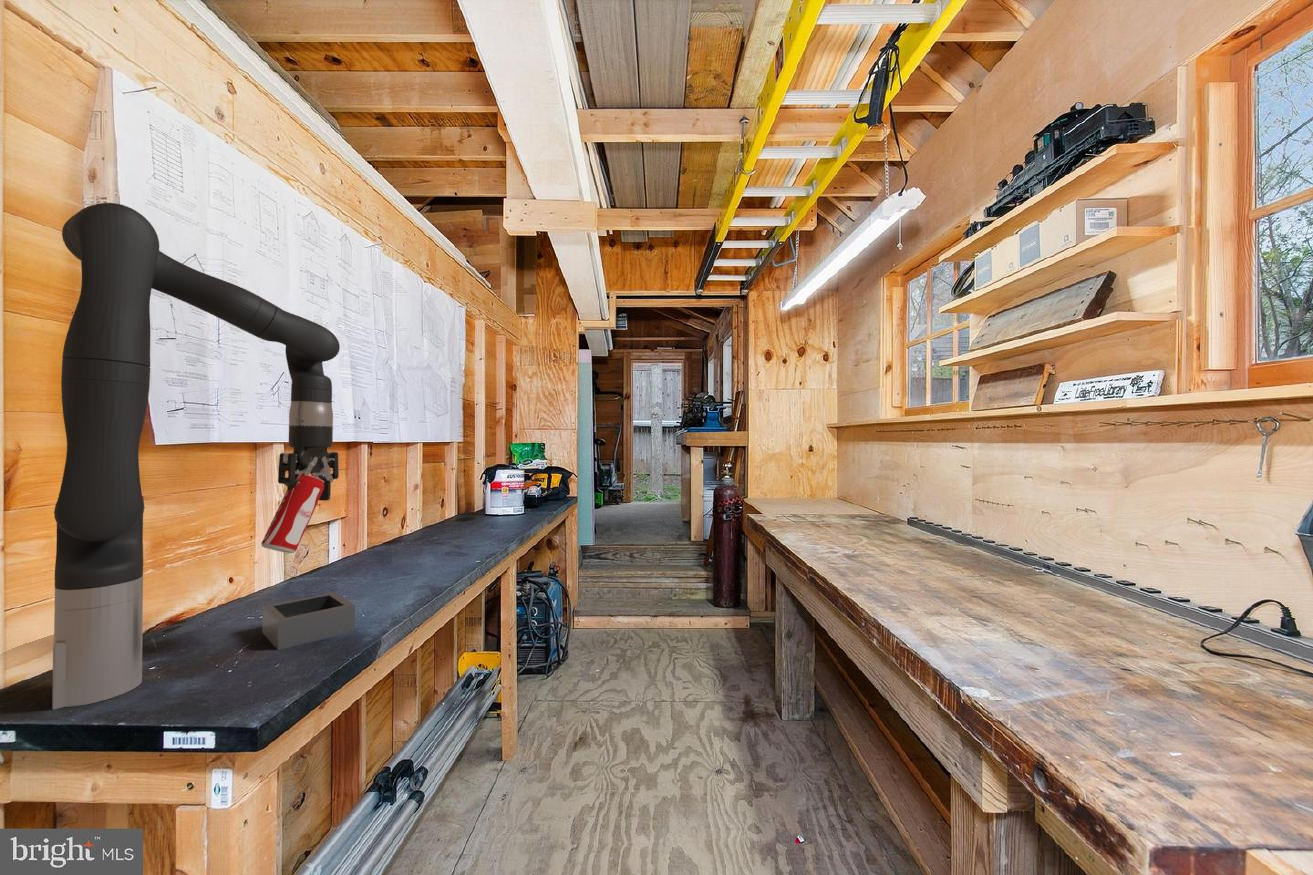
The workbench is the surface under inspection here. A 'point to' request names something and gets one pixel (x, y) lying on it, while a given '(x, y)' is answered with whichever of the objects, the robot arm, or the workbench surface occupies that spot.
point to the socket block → (307, 620)
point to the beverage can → (293, 515)
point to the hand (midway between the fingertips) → (309, 502)
